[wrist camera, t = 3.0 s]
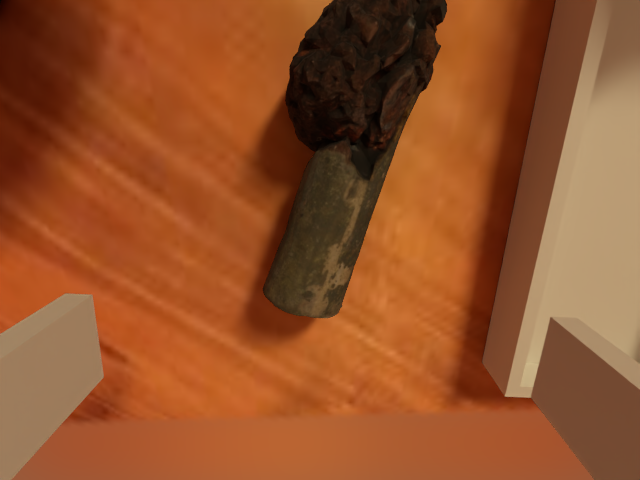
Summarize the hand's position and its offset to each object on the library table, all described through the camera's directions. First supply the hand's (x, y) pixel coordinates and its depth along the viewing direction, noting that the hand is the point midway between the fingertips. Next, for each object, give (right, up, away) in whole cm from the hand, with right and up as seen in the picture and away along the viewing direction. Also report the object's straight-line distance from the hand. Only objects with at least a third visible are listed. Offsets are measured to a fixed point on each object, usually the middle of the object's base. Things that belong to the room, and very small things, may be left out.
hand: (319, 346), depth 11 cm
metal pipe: (0, +4, +16) cm, 16 cm away
